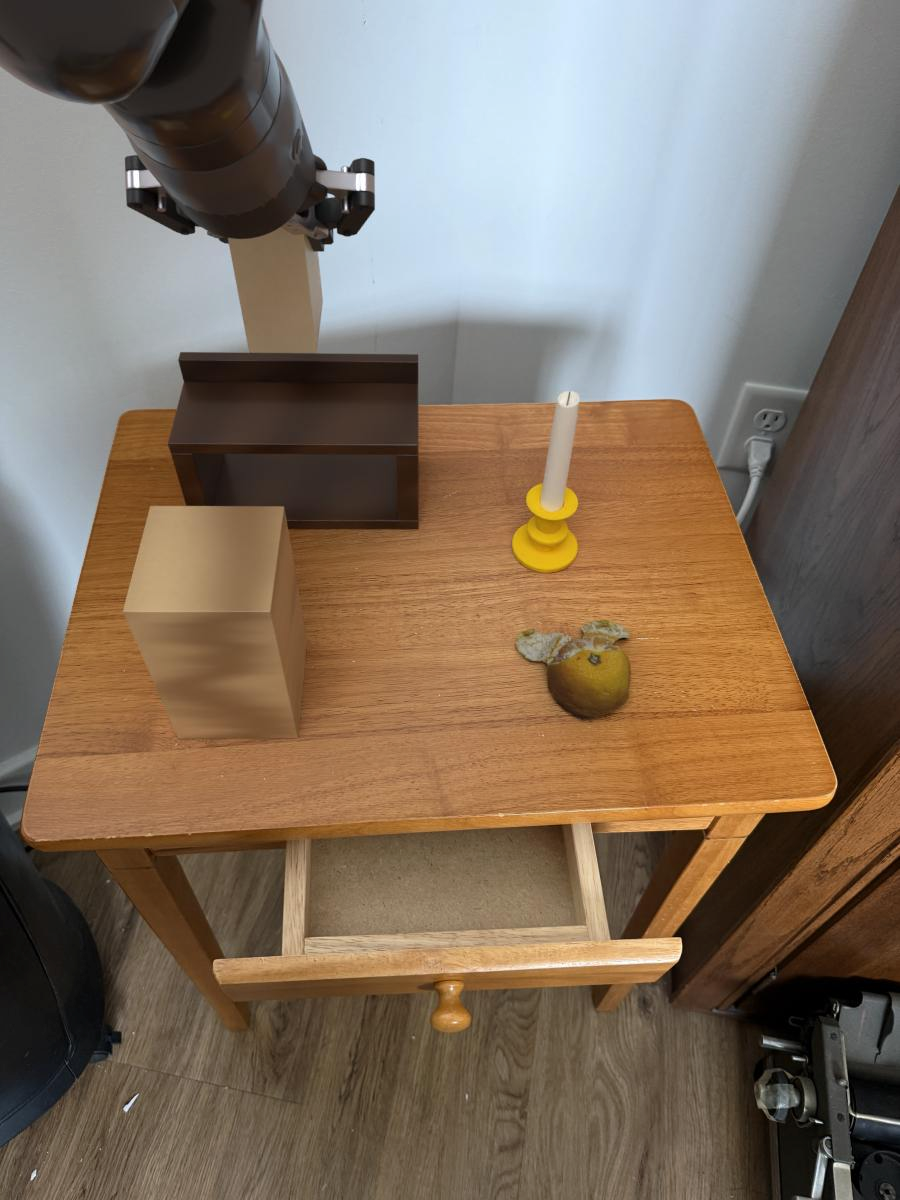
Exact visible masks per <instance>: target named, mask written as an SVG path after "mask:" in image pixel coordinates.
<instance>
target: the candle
mask: <svg viewBox="0 0 900 1200" xmlns="http://www.w3.org/2000/svg"><path fill="white" fill-rule="evenodd" d="M580 400H581V396H580V395H579V394H578V392H576V391H573V390H565V391H563V392H561V393H560V394H559V395H558V396H557V399H556V405H555V409H554V412H553V418H552V424H551V431H550V437H549V438H550V439H549V444H548V449H547V451H548V452H547V456H546V462H545V469H544V475H543V481H542V483H539V484H536V485H534V486H533V487H531V488H530V489H529V491H528V492H527V493H526V497H525V501H526V505H527V508H528V510H530V512H531V513H532V514H534V515H533V516H531V517H530V518H529V520H528V522H527V523H525V524H523V525H521V526H520V527H519V528H518V529H517V530H516V531H515V532H514V533H513V536H512V540H511V551H512V554H513V556H514V558H515V559H516V560H517V562H518V563H520V564H521V565H522V566H523V567H525V568H526V569H529V570H531V571H533V572H537V573H542V574H543V573H544V574H546V573H547V574H552V573H559V572H560V571H563V570H565V569H567V568H568V567H570V566H571V565H572V564H573V563H574V561H575V560H576V558H577V554H578V552H579V545H578V544H579V543H578V540H577V538H576V536H575V535H574V534H573V532H572V531H571V530H570V529H569V525H568V523H567V522H566V520H567V519H568V518H570V517H571V516H573V515H574V514H575V513H576V511H577V509H578V507H579V500H578V497H577V495H576V493H575V492H574V491H573V490H572V489H571V488H569V487H568V486H567V482H568V477H569V470H570V465H571V459H572V452H573V448H574V447H573V446H574V441H575V434H576V429H577V424H578V423H577V422H578V416H579V407H580ZM565 519H566V520H565Z"/></svg>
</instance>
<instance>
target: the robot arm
mask: <svg viewBox="0 0 900 1200" xmlns="http://www.w3.org/2000/svg"><path fill="white" fill-rule="evenodd" d="M264 1H265V0H0V68H1V69H2V70H4V71H5V72H7V73H8V74H10V75H11V76H12V77H14V78H15V79H17V80H18V81H20V82H22V83H23V84H25V85H26V86H28V87H30V88H32V89H34V90H36V91H38V92H40V93H42V94H45V95H48V96H50V97H53V98H55V99H58V100H61V101H65V102H70V103H75V104H81V105H83V104H84V105H89V106H93V105H98V106H99V105H101V106H102V107H103V108H104V109H105V111H106V112H107V113H108V114H109V115H110V116H111V118H113V120H114V121H115V122H116V124H118V126H119V127H120V128H121V129H122V131H123V132H124V133H125V136H126V137H127V139H128V142H129V143H130V145H131V147H132V149H133V151H134V153H135V154H133V155H126V156H125V157H124V184H125V197H126V200H125V201H126V207H127V208H129V209H132V210H133V211H135V212H137V213H139V214H141V215H142V216H145V217H146V218H148V219H150V220H152V221H154V222H156V223H158V224H160V225H162V226H163V227H165V228H167V229H170V231H171V230H172V231H173V232H175V233H178V234H180V235H182V236H190V235H193V234H195V233H196V228H202V229H203V230H205V231H206V235H207V236H209V237H212V238H214V239H218V241H219V242H220V243H223V244H226V245H229V242H228V238H233V239H250V238H256V237H260V236H263V235H266V234H269V233H271V232H273V231H275V230H277V229H278V228H280V227H281V228H283V229H285V230H286V231H288V232H289V233H291V234H293V235H300V234H306V235H307V237H308V240H309V242H310V244H311V246H312V249H313V251H315V252H318V253H319V252H323V253H324V252H325V245H326V246H327V245H330V246H331V245H333V244H334V241H335V239H334V237H335V236H334V230H336V234H338V235H340V236H343V237H346V238H347V237H352V236H355V235H358V234H359V233H358V232H360V230H361V229H362V228H363V226H364V225H365V224H366V222H367V221H368V220H369V218H370V217H371V215H372V214H373V213H374V212H375V210H376V194H375V193H376V177H375V175H376V174H375V171H376V170H375V168H376V167H375V161H374V160H373V159H370V158H367V157H360V158H355V159H353V160H352V161H351V163H350V165H349V166H347V165H342V166H341V167H340V171H339V170H332V169H331V170H329V169H328V166H327V164H326V162H325V161H324V159H323V158H321V157H320V156H317V155H316V154H314V152H313V148H312V144H311V142H310V138H309V135H308V131H307V129H306V126H305V124H304V123H305V122H304V120H303V116H302V113H301V110H300V107H299V104H298V101H297V98H296V97H297V96H296V95H295V92H294V91H295V90H294V88H293V85H292V82H291V79H290V77H289V75H288V72H287V70H286V68H285V66H284V63H283V62H282V60H281V58H280V56H279V55H278V53H277V51H276V50H275V48H274V46H273V43H272V41H271V37H270V34H269V31H268V28H267V25H266V22H265V19H264V17H263V9H264ZM329 195H332V196H333V197H329Z"/></svg>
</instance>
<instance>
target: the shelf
mask: <svg viewBox="0 0 900 1200" xmlns="http://www.w3.org/2000/svg"><path fill="white" fill-rule="evenodd" d="M177 361H178V365H179V369H180V373H181V376H182V381H183V383H182V387H181V391H180V395H179V398H178V403H177V406H176V411H175V414H174V418H173V421H172V426H171V430H170V434H169V437H168V441H167V445H168V449H169V453H170V456H171V459H172V462H173V466H174V469H175V473H176V477H177V479H178V483H179V486H180V490H181V493H182V496H183V500H184V503H185V506H283V507H284V508H285V514H286V520H287V526H288V530H419V491H420V490H419V488H420V487H419V484H420V483H419V481H420V480H419V477H420V475H419V474H420V473H419V471H420V470H419V469H420V468H419V466H420V464H419V456H420V455H419V454H420V453H419V452H420V451H419V450H420V449H419V446H420V445H419V444H420V443H419V439H420V438H419V436H420V435H419V428H420V427H419V426H420V425H419V424H420V423H419V354H417V353H406V354H405V353H327V352H325V353H323V352H322V353H319V352H317V353H249V352H227V351H226V352H224V351H223V352H220V351H219V352H218V351H215V352H214V351H213V352H208V351H207V352H206V351H198V352H197V351H180V352H179V355H178V359H177Z"/></svg>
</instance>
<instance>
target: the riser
mask: <svg viewBox="0 0 900 1200" xmlns="http://www.w3.org/2000/svg"><path fill="white" fill-rule="evenodd" d="M122 614H123V615H124V619H125V621H126V622H127V625H128V627H129V629H130V632H131V634H132V636H133V638H134V641H135V643H136V645H137V648H138V650H139V652H140V655H141V657H142V659H143V662H144V664H145V667H146V668H147V671H148V673H149V675H150V678H151V680H152V683H153V684H154V687H155V689H156V692H157V694H158V696H159V698H160V701H161V703H162V705H163V707H164V710H165V712H166V715H167V717H168V719H169V721H170V722H169V723H170V724H171V726H172V728H173V731H174V734H175V735H176V738H177V739H178V740H179V739H182V740H183V739H186V740H187V739H298V738H299V733H300V721H301V714H302V713H301V711H302V701H303V692H304V682H305V681H304V680H305V670H306V660H307V650H308V637H307V631H306V625H305V619H304V613H303V607H302V601H301V596H300V589H299V585H298V578H297V572H296V565H295V561H294V556H293V549H292V544H291V539H290V533H289V529H288V526H287V520H286V514H285V508H284V507H283V506H186V505H150V506H149V510H148V513H147V517H146V520H145V525H144V529H143V532H142V535H141V540H140V544H139V548H138V552H137V555H136V558H135V563H134V567H133V570H132V575H131V578H130V582H129V585H128V590H127V594H126V597H125V601H124V605H123V610H122Z"/></svg>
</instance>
